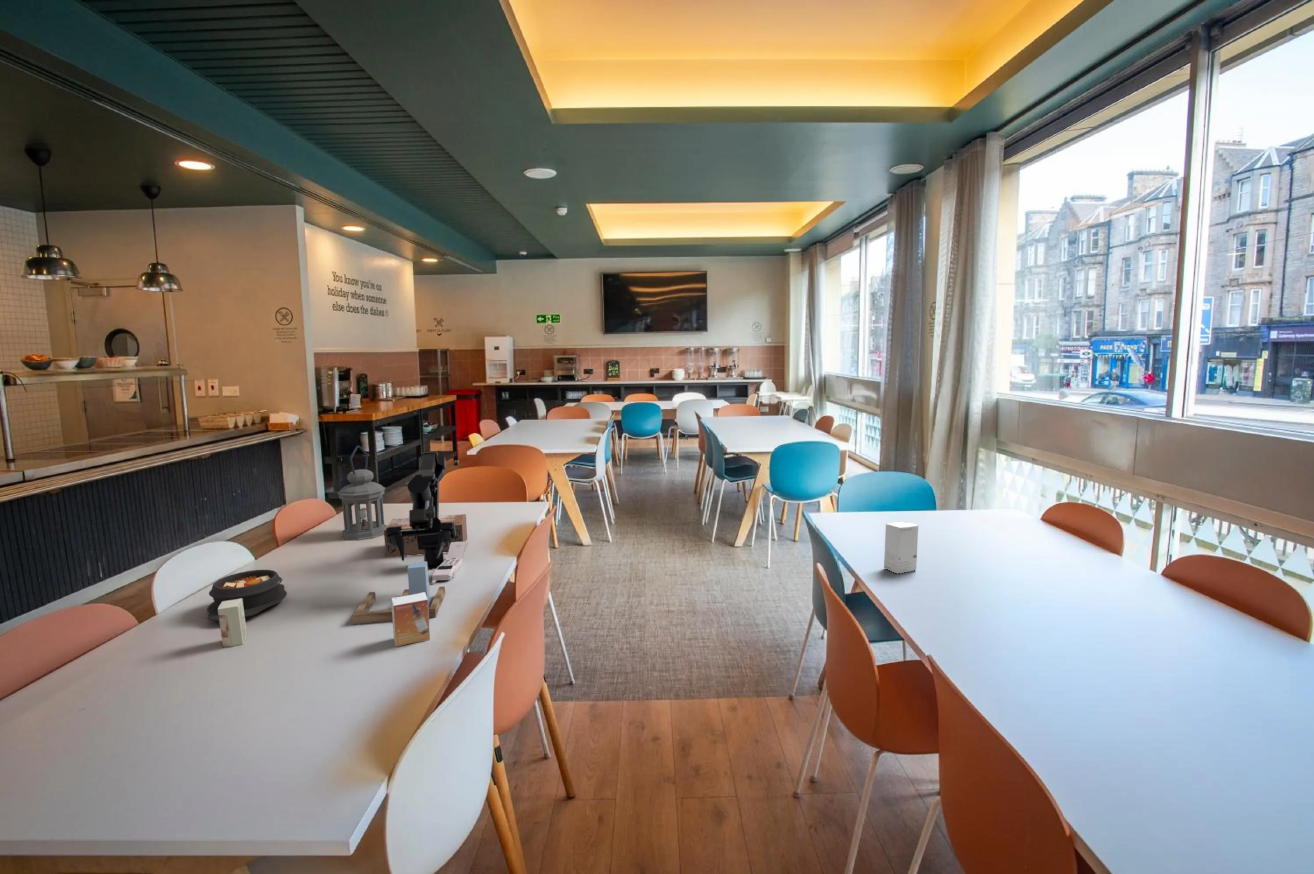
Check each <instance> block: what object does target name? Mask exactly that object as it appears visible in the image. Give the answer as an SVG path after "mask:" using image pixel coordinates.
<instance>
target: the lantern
mask: <svg viewBox="0 0 1314 874" xmlns="http://www.w3.org/2000/svg"><path fill="white" fill-rule="evenodd" d="M358 448H359V450H361V452H362V453H363V454H364V455H365V460H364V461H365V463H364V465H365V466H364V469H355V468H354V467H355V466H354V464H353V457H354V456H355V454H356V452H357V450H358ZM368 457H369V455H368V453H367V452H366V451H365V449H363V447H361V446H360V445H356V446H355V448H354V449H353V451H352V453H351V454H350V456H349V464H350V468H351V471H350V472H349V473H348V474H347V475H346V478H347V480H348V482H349V484H347V485H345V486H343V487H342V488H341V489H340V490H339V491H337V493H336V494H337V495H338V498H339V499H340V500H341V506H342V515H343V527H344V529H343V530H342V535H341V538H342V539H344V540H345V541H365V540H373V539H376V538H379V537H382V536H383V537H384V529H385V528H386V527H387V525H388V524H385V516H384V512H385V511H384V502H383V501H384V500H383V495H384V494H385V493H386V491H385V490H386V487H385V486H383V485H382V484H379V483H377V482H376V481H373V479H374V477H375V476H374V472H373V471H371V470H370V469H368V463H369V461H368V459H369V458H368ZM372 502H374V515H375V520H373V515H372V513H373V512H372ZM363 503H365V507H362V508H361V504H363ZM352 504H353V505H354V517H355V523H354V520H353V510H352V509H353V508H352Z"/></svg>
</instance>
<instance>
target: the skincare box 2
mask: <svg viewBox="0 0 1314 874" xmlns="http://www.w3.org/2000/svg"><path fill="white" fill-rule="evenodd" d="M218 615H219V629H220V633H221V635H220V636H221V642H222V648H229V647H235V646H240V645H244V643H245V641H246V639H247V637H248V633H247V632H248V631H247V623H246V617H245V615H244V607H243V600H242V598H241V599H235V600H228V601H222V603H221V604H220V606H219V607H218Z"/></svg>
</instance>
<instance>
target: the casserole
mask: <svg viewBox="0 0 1314 874" xmlns="http://www.w3.org/2000/svg"><path fill="white" fill-rule="evenodd" d="M282 582H283V578H282V577H281V576H279V574H278V572H277V571H275V570H272V569H252V570H247V571H242V572H241V571H240V572H238V573H233V574H230V575H227V576H224V577H222V578H219V579H217V580H216V581H214V582H213V584H212V586H211V589H210V590H209V592H208V595H209V597H211V598H212V599H213V602H211V603H210V604H209V605H208V606H207V608H206V611H207V613H208V615H207V617H206V618H207V620H209V621H215V622H216V621H217V622H218V621H219V615H218V607H219V606H220V604H221V603H222V601H228V600H235V599H241V598H242V600H243V607H244V615H245V618H249V617H252V616H255V615H257V614H259V613H261V612H262V611H264V610H265V609H268V608H270V607H273V606H274V605H277V604H278V603H280V602H282V601H283V600H284V599H286V597H287V596H288V592H287V591H286V589H285V587H286V586H285V584H282Z"/></svg>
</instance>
